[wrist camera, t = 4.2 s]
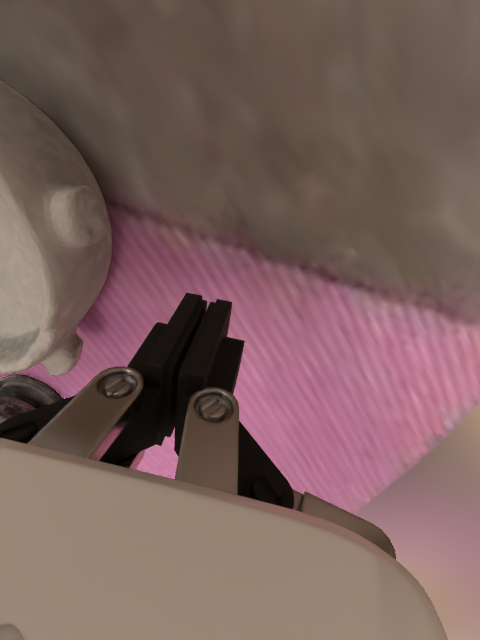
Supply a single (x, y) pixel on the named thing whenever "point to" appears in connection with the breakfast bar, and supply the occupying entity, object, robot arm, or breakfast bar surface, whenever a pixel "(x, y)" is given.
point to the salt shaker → (23, 395)
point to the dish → (46, 240)
